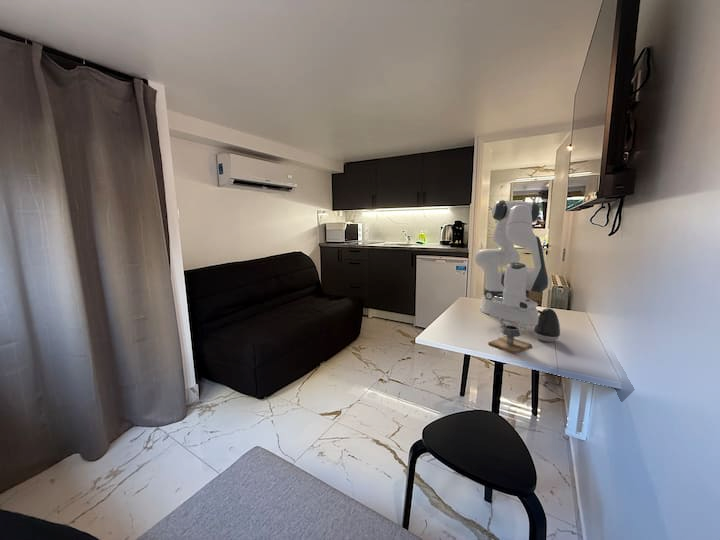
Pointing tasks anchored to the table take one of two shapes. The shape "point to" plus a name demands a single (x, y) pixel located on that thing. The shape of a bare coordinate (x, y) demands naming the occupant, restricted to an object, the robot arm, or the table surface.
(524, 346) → the piston stand
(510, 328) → the ring
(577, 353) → the table surface
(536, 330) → the black rounded piece
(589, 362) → the table surface
